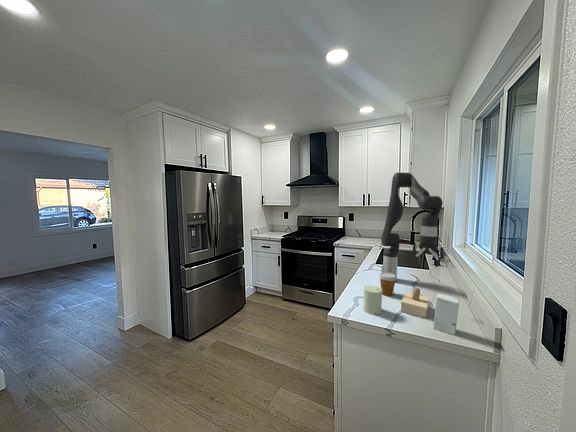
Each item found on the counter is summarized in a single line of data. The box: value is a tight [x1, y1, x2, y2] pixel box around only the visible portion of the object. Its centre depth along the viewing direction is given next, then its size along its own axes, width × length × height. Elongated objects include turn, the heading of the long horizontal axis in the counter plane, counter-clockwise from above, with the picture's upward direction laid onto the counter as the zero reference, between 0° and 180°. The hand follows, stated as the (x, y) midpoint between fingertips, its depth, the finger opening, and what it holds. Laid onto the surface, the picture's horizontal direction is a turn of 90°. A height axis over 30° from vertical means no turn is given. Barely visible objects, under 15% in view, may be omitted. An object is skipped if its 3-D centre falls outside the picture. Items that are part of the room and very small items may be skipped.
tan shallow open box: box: [400, 302, 430, 319], centre depth 125 cm, size 11×14×4 cm
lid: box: [400, 287, 431, 310], centre depth 124 cm, size 11×14×7 cm
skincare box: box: [433, 293, 460, 336], centre depth 106 cm, size 8×6×15 cm
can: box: [362, 285, 383, 315], centre depth 124 cm, size 9×9×12 cm
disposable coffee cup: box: [379, 272, 396, 297], centre depth 143 cm, size 10×10×12 cm
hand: (427, 265), depth 124 cm, fingers open, 8 cm apart
